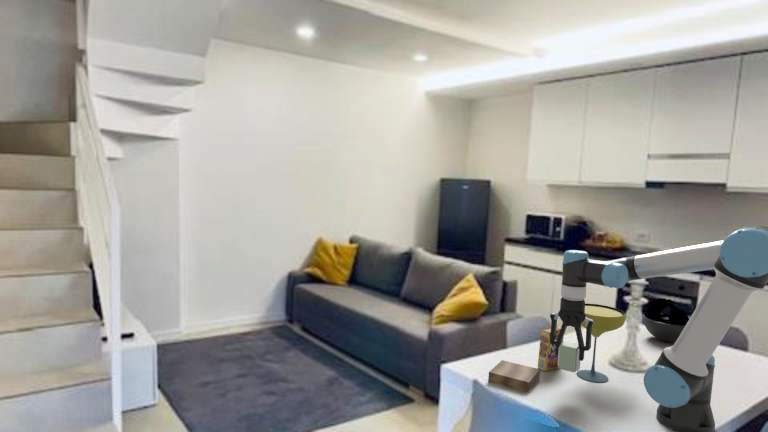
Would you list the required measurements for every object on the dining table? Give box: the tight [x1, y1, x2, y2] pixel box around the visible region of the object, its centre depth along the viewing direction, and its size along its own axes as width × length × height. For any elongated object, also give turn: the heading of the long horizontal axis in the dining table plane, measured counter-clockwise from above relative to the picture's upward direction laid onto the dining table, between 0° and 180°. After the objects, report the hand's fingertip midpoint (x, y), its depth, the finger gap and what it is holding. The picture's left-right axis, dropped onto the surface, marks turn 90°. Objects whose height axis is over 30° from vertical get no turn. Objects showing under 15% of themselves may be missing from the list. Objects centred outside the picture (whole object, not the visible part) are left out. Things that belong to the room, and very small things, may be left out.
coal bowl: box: [642, 297, 690, 342], centre depth 229 cm, size 20×20×19 cm
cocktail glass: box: [576, 303, 626, 384], centre depth 183 cm, size 18×18×25 cm
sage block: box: [558, 340, 579, 373], centre depth 165 cm, size 5×5×8 cm
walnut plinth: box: [487, 360, 541, 393], centre depth 178 cm, size 14×14×4 cm
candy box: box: [537, 326, 565, 372], centre depth 190 cm, size 9×4×15 cm, turn 123°
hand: (568, 367), depth 165 cm, fingers closed on sage block, 5 cm apart
